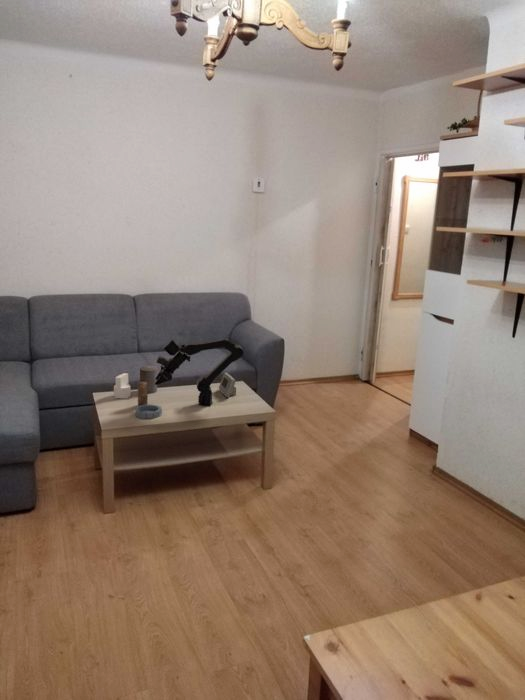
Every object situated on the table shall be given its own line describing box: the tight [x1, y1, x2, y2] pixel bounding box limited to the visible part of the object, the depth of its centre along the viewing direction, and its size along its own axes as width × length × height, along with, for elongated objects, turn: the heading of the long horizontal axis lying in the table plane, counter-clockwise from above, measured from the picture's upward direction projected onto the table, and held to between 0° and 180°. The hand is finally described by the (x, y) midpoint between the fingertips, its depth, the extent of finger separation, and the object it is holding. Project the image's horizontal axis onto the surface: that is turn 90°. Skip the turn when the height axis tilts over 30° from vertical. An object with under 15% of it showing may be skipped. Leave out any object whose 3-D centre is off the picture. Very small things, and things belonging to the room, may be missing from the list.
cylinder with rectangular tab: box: [113, 372, 132, 399], centre depth 305 cm, size 9×9×12 cm
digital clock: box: [218, 372, 237, 398], centre depth 316 cm, size 16×9×11 cm, turn 10°
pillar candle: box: [139, 365, 158, 394], centre depth 315 cm, size 10×10×15 cm
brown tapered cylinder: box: [137, 381, 149, 407], centre depth 291 cm, size 5×5×12 cm
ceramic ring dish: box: [134, 404, 163, 420], centre depth 281 cm, size 13×13×3 cm
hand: (155, 381), depth 291 cm, fingers open, 9 cm apart
